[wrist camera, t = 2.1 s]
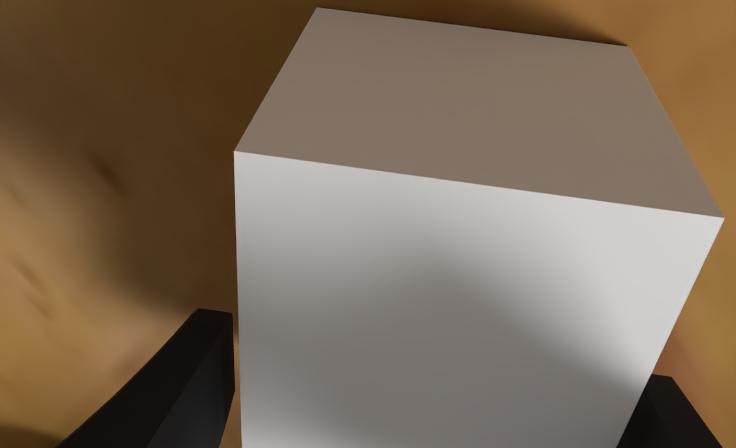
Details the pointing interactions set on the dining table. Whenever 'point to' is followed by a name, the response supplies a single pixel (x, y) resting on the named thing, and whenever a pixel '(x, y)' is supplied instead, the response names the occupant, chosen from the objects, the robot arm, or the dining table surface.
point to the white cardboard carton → (458, 239)
